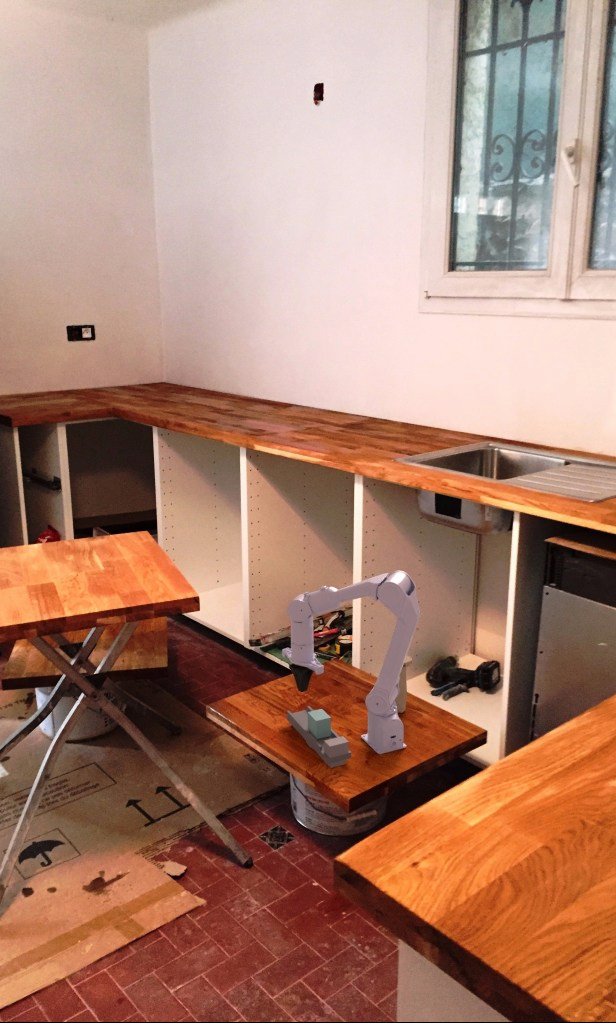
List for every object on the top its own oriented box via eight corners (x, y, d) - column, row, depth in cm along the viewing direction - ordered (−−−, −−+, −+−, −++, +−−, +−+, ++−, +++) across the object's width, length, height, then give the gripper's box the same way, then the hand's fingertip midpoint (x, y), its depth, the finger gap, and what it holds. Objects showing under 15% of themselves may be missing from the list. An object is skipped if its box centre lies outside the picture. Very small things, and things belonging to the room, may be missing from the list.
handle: (384, 709, 230) (385, 657, 227) (405, 704, 233) (406, 653, 229) (392, 717, 226) (393, 664, 222) (413, 712, 228) (415, 660, 224)
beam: (351, 763, 204) (351, 741, 202) (327, 769, 201) (327, 747, 200) (309, 719, 225) (309, 698, 224) (287, 724, 222) (286, 703, 221)
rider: (330, 735, 210) (330, 717, 209) (316, 739, 209) (316, 720, 207) (322, 726, 215) (322, 708, 213) (307, 730, 213) (307, 712, 212)
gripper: (333, 645, 212) (333, 695, 216) (296, 628, 223) (297, 676, 226) (311, 653, 208) (311, 704, 211) (275, 635, 219) (276, 684, 222)
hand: (302, 690), depth 219 cm, fingers closed
